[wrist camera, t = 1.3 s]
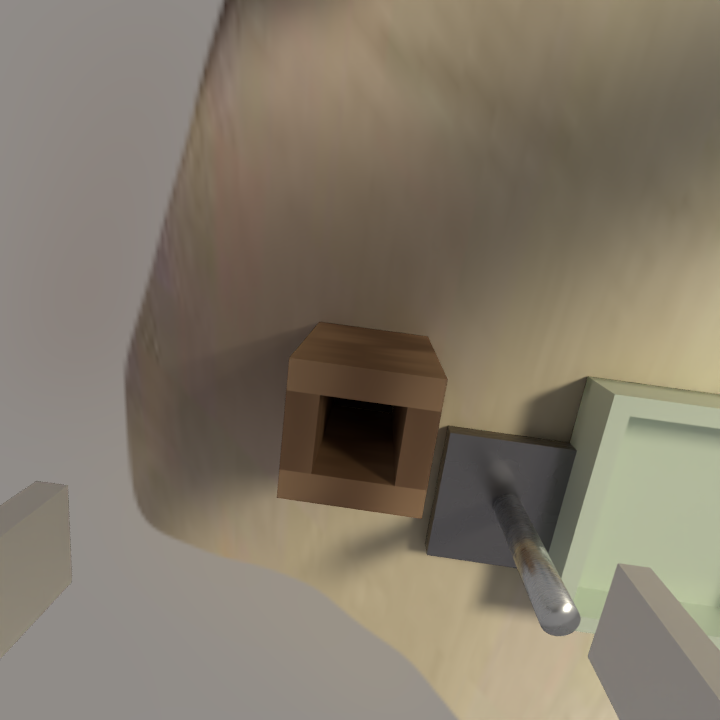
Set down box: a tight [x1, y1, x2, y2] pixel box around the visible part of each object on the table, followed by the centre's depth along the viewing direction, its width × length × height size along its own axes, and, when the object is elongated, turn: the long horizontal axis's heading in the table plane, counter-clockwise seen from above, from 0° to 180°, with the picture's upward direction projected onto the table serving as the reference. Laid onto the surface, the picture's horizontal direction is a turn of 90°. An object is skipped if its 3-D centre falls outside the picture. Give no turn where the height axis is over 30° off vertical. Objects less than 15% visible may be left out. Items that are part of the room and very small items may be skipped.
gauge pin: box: [425, 426, 581, 636], centre depth 22 cm, size 8×8×9 cm
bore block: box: [277, 322, 448, 519], centre depth 21 cm, size 6×6×8 cm
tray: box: [548, 377, 720, 650], centre depth 25 cm, size 14×14×3 cm
